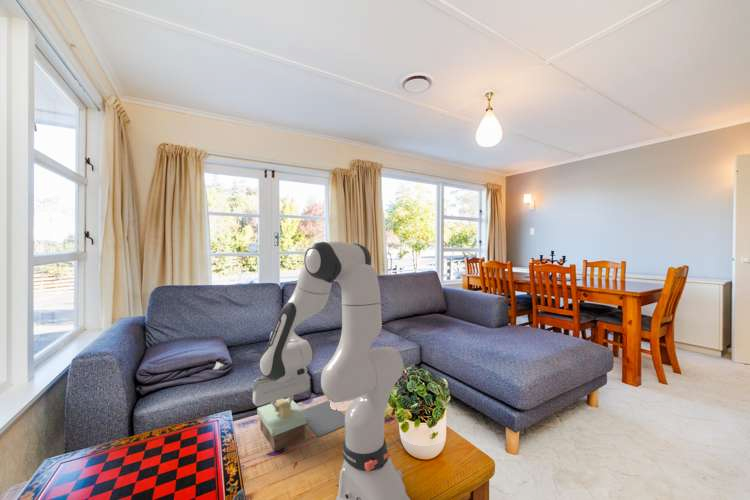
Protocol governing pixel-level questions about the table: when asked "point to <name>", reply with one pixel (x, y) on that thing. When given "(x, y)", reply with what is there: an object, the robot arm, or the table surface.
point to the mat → (324, 418)
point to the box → (283, 436)
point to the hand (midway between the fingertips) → (282, 409)
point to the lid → (282, 416)
